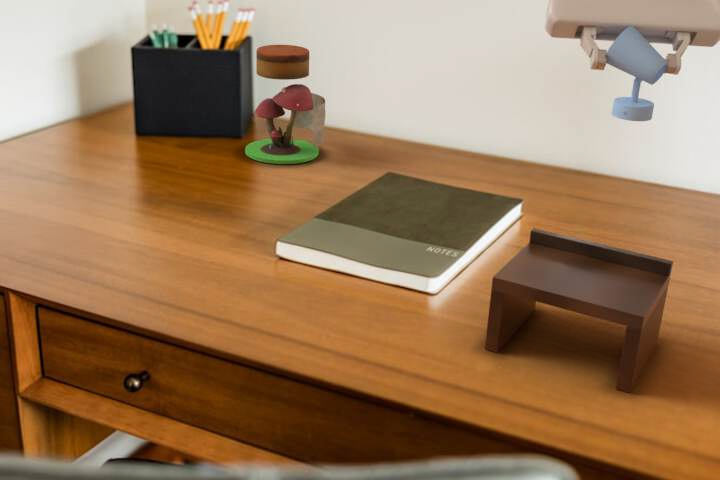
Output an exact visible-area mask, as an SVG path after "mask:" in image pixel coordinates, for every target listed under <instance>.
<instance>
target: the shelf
mask: <svg viewBox="0 0 720 480" xmlns="http://www.w3.org/2000/svg"><path fill="white" fill-rule="evenodd" d="M673 265H674V261H673V260H670V259H665V258H662V257H657V256H654V255H648V254H645V253H640V252H636V251H632V250H627V249H624V248H619V247H616V246H615V247H614V246H611V245H607V244H602V243H597V242H594V241H589V240H585V239H581V238H577V237H573V236H569V235H565V234H560V233H556V232H551V231H547V230H543V229H538V228H532V229H531V230H530V235H529V242H528V243H527V244H526V245H525V246H524V247H523V248H522V249H521V250H519V252H517V253H516V254H515V256H513V257H512V258H511V259H510V260H509V261H508V262H506V264H505V265H503V267H502V268H501V269H499V270H498V272H496V274H494V275H493V276H492V280H491V281H492V282H491V289H490V299H489V307H488V317H487V325H486V334H485V342H484V343H485V344H484V349H485V351H490V352H492V353H495V354H496V353H498V352H499V351H500V350H501V349H502V348H503V347H504V346H505V344H506V343H507V342H508V341H509V340H510V339H511V338H512V336H514V334H515V333H516V332H517V331H518V330H519V329H520V327H521V326H522V325H523V324H524V323H525V322H526V321H527V319H528V318H529V317H530V316H531V314H533V312H534V311H535V310H536V303H541V304H544V305H547V306H552V307H555V308H559V309H562V310H565V311H566V310H567V311H571V312H574V313H577V314H580V315H581V314H582V315H584V316H588V317H592V318H596V319H600V320H603V321H607V322H609V323H610V322H611V323H614V324H618V325H621V326H626V329H625V334H624V339H623V345H622V350H621V356H620V363H619V367H618V372H617V377H616V384H615V390H617V391H621V392H623V393H627V394H630V393H631V391H632V389H633V388H634V385H636V382H637V380H638V378H639V376H640V375H641V373H642V371H643V369H644V367H645V366H646V364H647V362H648V360H649V359H650V356H652V353H653V351H654V350H655V348H656V346H657V344H658V341H659V335H660V330H661V325H662V320H663V314H664V309H665V305H666V299H667V295H668V290H669V285H670V279H671V276H672V270H673V269H672V268H673Z"/></svg>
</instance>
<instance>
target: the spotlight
mask: <svg viewBox="0 0 720 480" xmlns="http://www.w3.org/2000/svg"><path fill="white" fill-rule="evenodd" d="M606 54H607V55H606V58H607V61H606V65H609V66H611V67H614V68H616V69H617V70H620V71H622V72H624V73H626V74H628V75H630V76H632V77H635V78H634V79H633V85H632V90H631V95H630V96H618V97H616V98H614V99H613V103H612V110H611V115H612V117H614V118H617V119H620V120H625V121H629V122H648V121H651V120H652V119H653V113H654V107H655V103H654V102H653V101H651V100H648V99H645V98H641V97H639V94H640V90H641V84H642V82H645V83H647V84H649V85H651V86H653V85H655V84H656V83H657V82H658V81H659V80H660V79H661V78H662V76H663V75H665V74H664V72H665V71H666V69H667V67H668V65H669V63H668V62H667V61H666V60H665V59H666V58H664V57H663V56H662V54H660V53H659V52H658V50H656V48H654V46H652V43H649V42H648V41H647V40H646V39H645V38H644V37H643V36H642V35H641V34H640V33H639V32H638V31H637V30H636V29H635V28H634V27H633V26H630V27H628V28H627V29H625V30H624V31H623V32H622V33H621V34H620V35H619V36H618V37H617V38H616V40H615V41H612V43H611V45H610V46H609V48H608V49H607V50H606Z"/></svg>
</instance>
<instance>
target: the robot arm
mask: <svg viewBox="0 0 720 480" xmlns="http://www.w3.org/2000/svg"><path fill="white" fill-rule="evenodd" d="M630 26H633V27H634V28H635V29H636V30H637V31H638V32H639V33H640V34H641V35H642V36H643V37H644V38H645V39H646V40H647V41H648V42H649V43H650V44H656V45H672V51H674V52H675V53H667V54H666V56H665V58H664V59H665V60H666V61H667V62H668V63H669V65H668V67H667V69H666V71H665V72H664V74H663V75H674V76H675V75H676V76H678V75H679V74H680V71H681V68H682V57H683V55H684V54H685V52H686V50H688V47H689V46H690V47H704V48H705V47H706V48H712V47H715V46H716V45H717V44H718V43H719V42H720V0H548V4H547V8H546V14H545V24H544V30H545V32H546V33H547V34H548V35H549V36H550V37H551V38H555V39H558V38H559V39H570V40H571V39H572V40H580V47H581V49H582V50H583V51H584V52H585V54H586V56H587V57H588V58H590V59H589V65H590V66H589V67H590V70H592V71H593V70H596V71H604V70H605V68H606V65H607V63H606V61H607V58H606V55H607V54H606V53H607V49H600V47H599V46H598V44H597V42H596V41H603V42H605V41H606V42H614V41H615V40H616V38H617V37H618V36H619V35H620V34H621V33H622V32H623V31H624V30H625V29H627V28H628V27H630Z"/></svg>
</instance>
